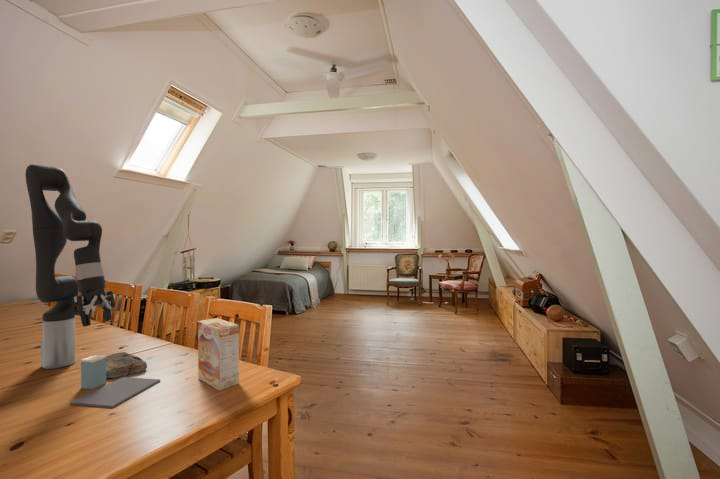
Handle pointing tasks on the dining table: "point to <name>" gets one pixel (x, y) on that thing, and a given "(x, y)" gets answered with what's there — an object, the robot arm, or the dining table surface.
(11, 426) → the dining table surface
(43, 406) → the dining table surface
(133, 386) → the mat
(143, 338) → the dining table surface
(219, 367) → the coffeecake box
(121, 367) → the clay tablet
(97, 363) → the block
